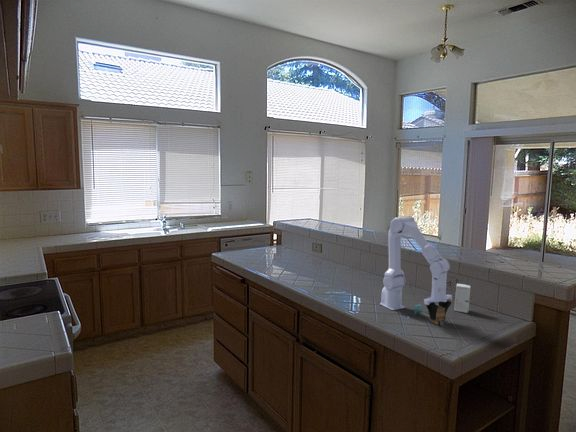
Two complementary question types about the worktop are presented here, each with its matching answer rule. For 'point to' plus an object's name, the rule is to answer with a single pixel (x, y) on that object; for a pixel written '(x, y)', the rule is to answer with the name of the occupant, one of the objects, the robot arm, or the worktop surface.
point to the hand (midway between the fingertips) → (437, 318)
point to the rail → (419, 312)
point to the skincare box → (462, 298)
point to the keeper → (439, 315)
